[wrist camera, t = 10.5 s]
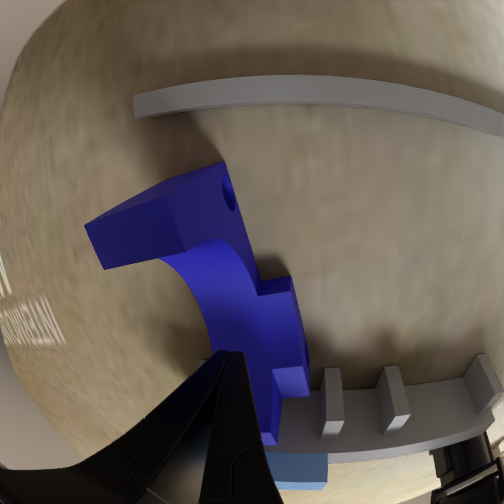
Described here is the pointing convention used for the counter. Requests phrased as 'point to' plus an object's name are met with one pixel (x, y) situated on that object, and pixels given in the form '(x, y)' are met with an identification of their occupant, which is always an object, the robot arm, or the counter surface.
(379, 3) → the counter surface
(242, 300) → the cable clip
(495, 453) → the architectural model
